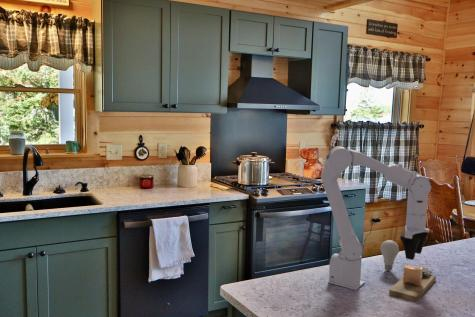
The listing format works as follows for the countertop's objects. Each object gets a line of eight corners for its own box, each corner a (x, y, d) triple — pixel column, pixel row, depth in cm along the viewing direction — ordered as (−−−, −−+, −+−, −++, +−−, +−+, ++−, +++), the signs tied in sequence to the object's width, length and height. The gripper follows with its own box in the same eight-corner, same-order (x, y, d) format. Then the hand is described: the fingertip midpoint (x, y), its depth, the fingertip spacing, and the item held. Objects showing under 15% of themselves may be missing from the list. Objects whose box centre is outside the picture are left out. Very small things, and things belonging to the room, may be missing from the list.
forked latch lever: (402, 282, 141) (403, 267, 140) (416, 269, 153) (417, 255, 153) (419, 286, 138) (420, 271, 137) (432, 272, 150) (433, 258, 150)
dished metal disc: (413, 274, 148) (413, 268, 148) (416, 271, 152) (417, 265, 151) (425, 277, 146) (426, 271, 146) (429, 274, 149) (429, 268, 149)
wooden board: (388, 294, 136) (389, 289, 136) (410, 274, 153) (410, 270, 153) (416, 301, 131) (416, 296, 131) (435, 280, 148) (435, 275, 148)
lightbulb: (401, 273, 154) (403, 242, 153) (387, 275, 152) (389, 243, 151) (389, 267, 160) (391, 237, 159) (375, 269, 157) (377, 238, 156)
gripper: (423, 219, 130) (420, 264, 132) (436, 211, 142) (433, 253, 143) (398, 215, 135) (396, 259, 136) (413, 208, 146) (410, 248, 148)
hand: (413, 256), depth 140 cm, fingers open, 7 cm apart
